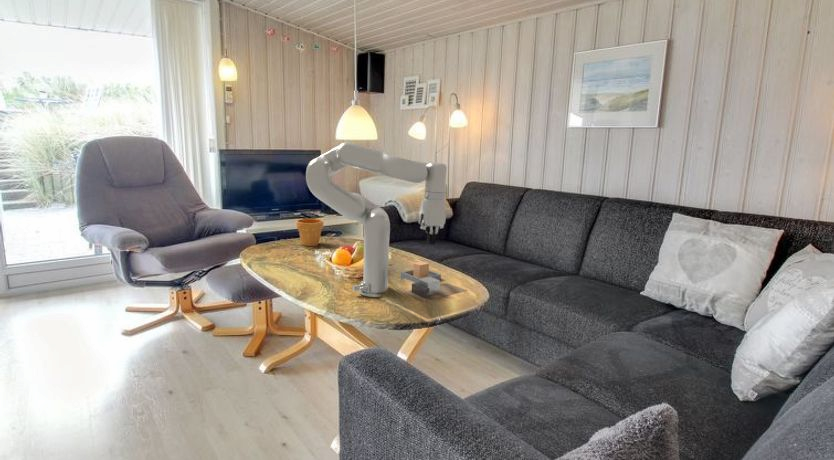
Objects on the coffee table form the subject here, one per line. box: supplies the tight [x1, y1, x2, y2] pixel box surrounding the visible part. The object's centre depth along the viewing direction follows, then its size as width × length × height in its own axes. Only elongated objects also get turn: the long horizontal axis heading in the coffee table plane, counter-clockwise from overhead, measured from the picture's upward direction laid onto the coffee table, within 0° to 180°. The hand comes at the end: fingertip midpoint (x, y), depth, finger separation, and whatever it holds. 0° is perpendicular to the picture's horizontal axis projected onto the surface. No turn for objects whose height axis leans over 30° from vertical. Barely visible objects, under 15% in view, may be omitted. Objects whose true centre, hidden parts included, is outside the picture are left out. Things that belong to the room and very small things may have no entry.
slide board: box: [402, 282, 468, 302], centre depth 186 cm, size 23×12×5 cm, turn 129°
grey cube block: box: [418, 277, 441, 295], centre depth 184 cm, size 6×6×5 cm
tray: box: [400, 269, 442, 283], centre depth 203 cm, size 12×12×4 cm
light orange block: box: [412, 261, 430, 278], centre depth 203 cm, size 5×4×7 cm
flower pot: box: [295, 218, 324, 247], centre depth 261 cm, size 14×14×13 cm
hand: (430, 243), depth 185 cm, fingers closed
